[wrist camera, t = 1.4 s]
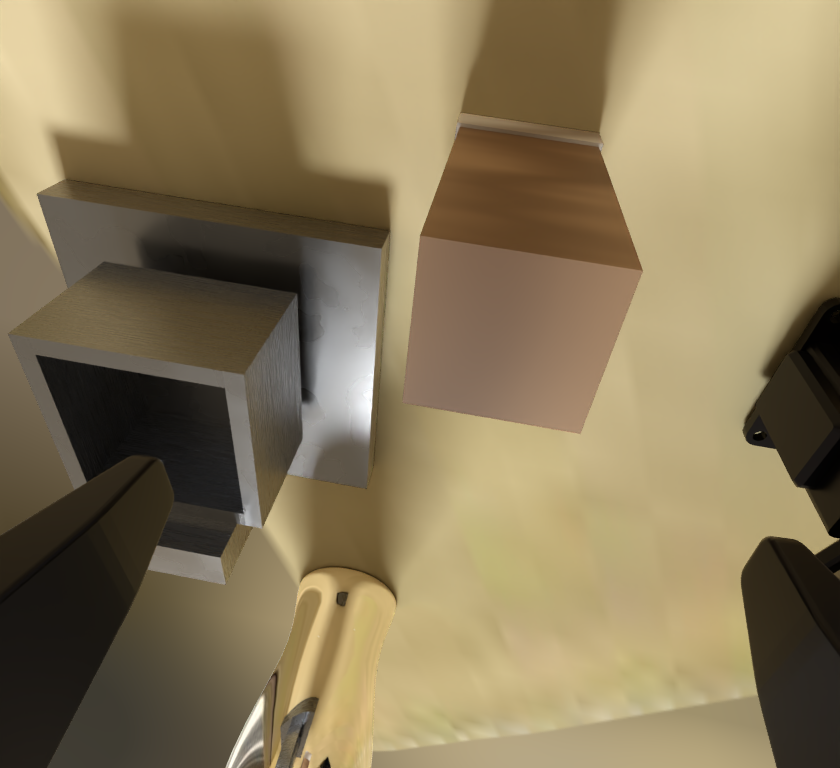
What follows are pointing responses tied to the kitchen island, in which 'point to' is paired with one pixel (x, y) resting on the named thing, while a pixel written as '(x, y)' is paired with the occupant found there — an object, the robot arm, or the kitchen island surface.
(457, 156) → the brown rectangular block
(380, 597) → the beer glass
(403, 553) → the kitchen island surface
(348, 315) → the bracket
